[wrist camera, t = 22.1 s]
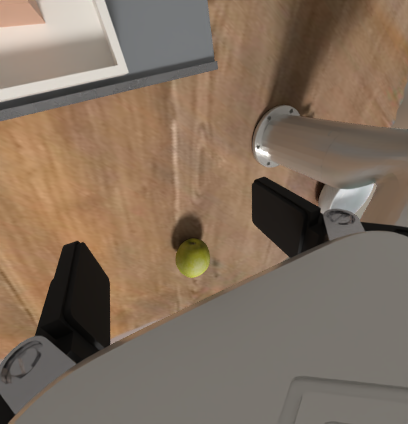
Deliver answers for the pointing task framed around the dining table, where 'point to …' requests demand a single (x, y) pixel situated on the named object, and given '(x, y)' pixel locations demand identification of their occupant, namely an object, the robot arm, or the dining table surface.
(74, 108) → the dining table surface
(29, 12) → the block
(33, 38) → the cart
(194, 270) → the apple
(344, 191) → the cereal bowl
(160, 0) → the track
